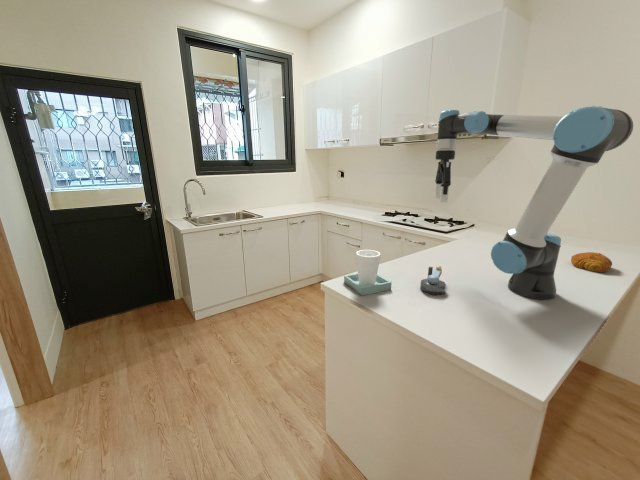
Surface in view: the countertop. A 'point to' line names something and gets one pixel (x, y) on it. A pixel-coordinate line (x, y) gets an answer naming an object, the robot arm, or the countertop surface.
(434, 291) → the crank base
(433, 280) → the crank
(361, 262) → the foam cup
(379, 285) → the tray
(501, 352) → the countertop surface
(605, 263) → the croissant
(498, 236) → the countertop surface
